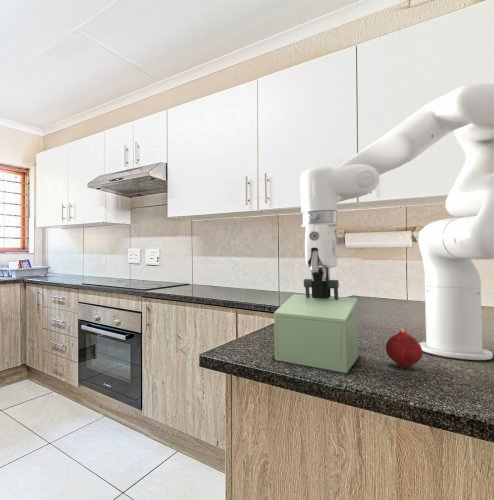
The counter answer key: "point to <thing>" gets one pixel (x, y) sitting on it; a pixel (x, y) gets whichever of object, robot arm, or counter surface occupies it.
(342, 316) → the lid
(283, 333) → the chest
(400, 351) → the onion
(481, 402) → the counter surface
